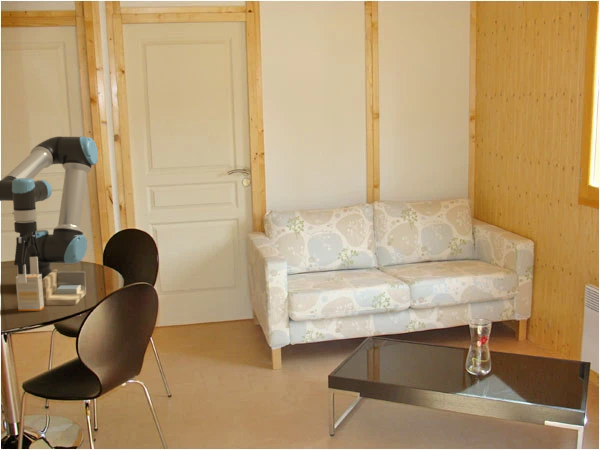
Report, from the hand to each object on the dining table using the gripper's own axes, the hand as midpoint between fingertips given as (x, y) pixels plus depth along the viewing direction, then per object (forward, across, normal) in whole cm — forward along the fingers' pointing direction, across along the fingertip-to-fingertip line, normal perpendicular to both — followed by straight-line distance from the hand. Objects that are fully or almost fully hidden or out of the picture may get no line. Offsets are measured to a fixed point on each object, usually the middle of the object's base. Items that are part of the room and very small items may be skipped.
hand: (28, 278), depth 257 cm
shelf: (+12, -14, +9) cm, 20 cm away
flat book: (+10, -17, +10) cm, 22 cm away
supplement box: (+12, -1, 0) cm, 12 cm away
